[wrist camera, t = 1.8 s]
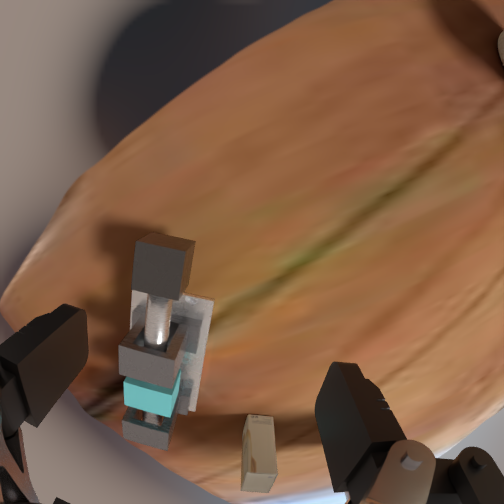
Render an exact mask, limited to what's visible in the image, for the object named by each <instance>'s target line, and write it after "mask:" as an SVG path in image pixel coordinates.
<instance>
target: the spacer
mask: <svg viewBox="0 0 504 504" xmlns="http://www.w3.org/2000/svg"><path fill="white" fill-rule="evenodd" d="M180 375H181V369H179V371H178V374H177V377H176V379H175V382H174V385H173V388H172V389H170V388H166V387H162V386H158V385H154V384H151V383H147V382H144V381H140V380H137V379H133V378H130V377H126V379H125V380H124V404H125V405H127V406H130V407H133V408H137V409H140V410H144V411H147V412H151V413H154V414H158V415H162V416H165V417H169V418H170V417H171V414H172V411H173V408H174V404H175V401H176V398H177V395H178V392H179V384H180Z"/></svg>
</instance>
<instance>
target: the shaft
mask: <svg viewBox="0 0 504 504" xmlns="http://www.w3.org/2000/svg"><path fill="white" fill-rule="evenodd" d="M195 242H196V241H193V240H188V239H183V238H178V237H173V236H169V235H164V234H159V233H154V232H152V233H150V234H148V235H146V236H144V237H142V238H140V239H138V240H137V241H136V245H135V254H134V263H133V274H132V286H131V290H135V291H139V292H143V293H147V305H146V317H145V332H144V347H146V348H150V349H153V350H157V351H161V352H165V353H166V351H167V346H168V337H169V327H170V318H171V310H172V302H173V300H176V301H179V299H180V298H181V296H182V294H183V293H184V291H185V289H186V288H187V286H188V284H189V278H190V271H191V265H192V259H193V253H194V247H195ZM142 420H143V421H145V422H148V423H152V424H155V425H159V426H161V425H162V415H158V414H154V413H151V412H147V411H144V410H142Z"/></svg>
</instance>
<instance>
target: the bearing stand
mask: <svg viewBox="0 0 504 504" xmlns="http://www.w3.org/2000/svg"><path fill="white" fill-rule="evenodd" d="M214 300H215V299H212V298H207V297H203V296H198V295H194V294H189V293H185V292H184V293H183V294H182V296H181V298H180V299H179V301H176V300H173V302H172V310H171V318H170V327H169V337H168V346H167V351H166V353H165V352H161V351H157V350H153V349H150V348H146V347H144V332H145V317H146V305H147V293H143V292H139V291H135V290H132V301H131V318H130V331H129V332H128V333H127V335H126V336H125V337H124V339H123V340H122V341H121V343H120V344H119V374H120V375H124V376H127V377H130V378H133V379H137V380H140V381H144V382H147V383H151V384H154V385H158V386H162V387H166V388H170V389H172V388H173V385H174V382H175V379H176V377H177V374H178V371H179V369H181V375H180V384H179V392H178V395H177V398H176V401H175V404H174V408H173V411H172V414H171V417H170V418H169V417H165V416H164V419H163V422H162V425H161V426H159V425H155V424H152V423H148V422H145V421H141V418H142V410H140V409H137V408H133V407H130V406H129V407H128V409H127V411H126V413H125V415H124V417H123V419H122V427H123V437H124V438H125V439H128V440H131V441H134V442H137V443H140V444H144V445H147V446H151V447H154V448H158V449H162V450H166V451H168V448H169V444H170V441H171V437H172V433H173V430H174V426H175V423H176V420H177V416H178V413H179V414H183V415H188V411H194V412H195V410H196V405H197V398H198V392H199V386H200V380H201V374H202V368H203V362H204V356H205V350H206V344H207V339H208V333H209V327H210V322H211V316H212V311H213V305H214Z"/></svg>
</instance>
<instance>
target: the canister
mask: <svg viewBox="0 0 504 504" xmlns="http://www.w3.org/2000/svg"><path fill="white" fill-rule="evenodd" d="M498 52H499V54H500V58H501V61H502V63H503V66H504V30H503V31H502V33H501V34H500V36H499V38H498Z"/></svg>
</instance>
